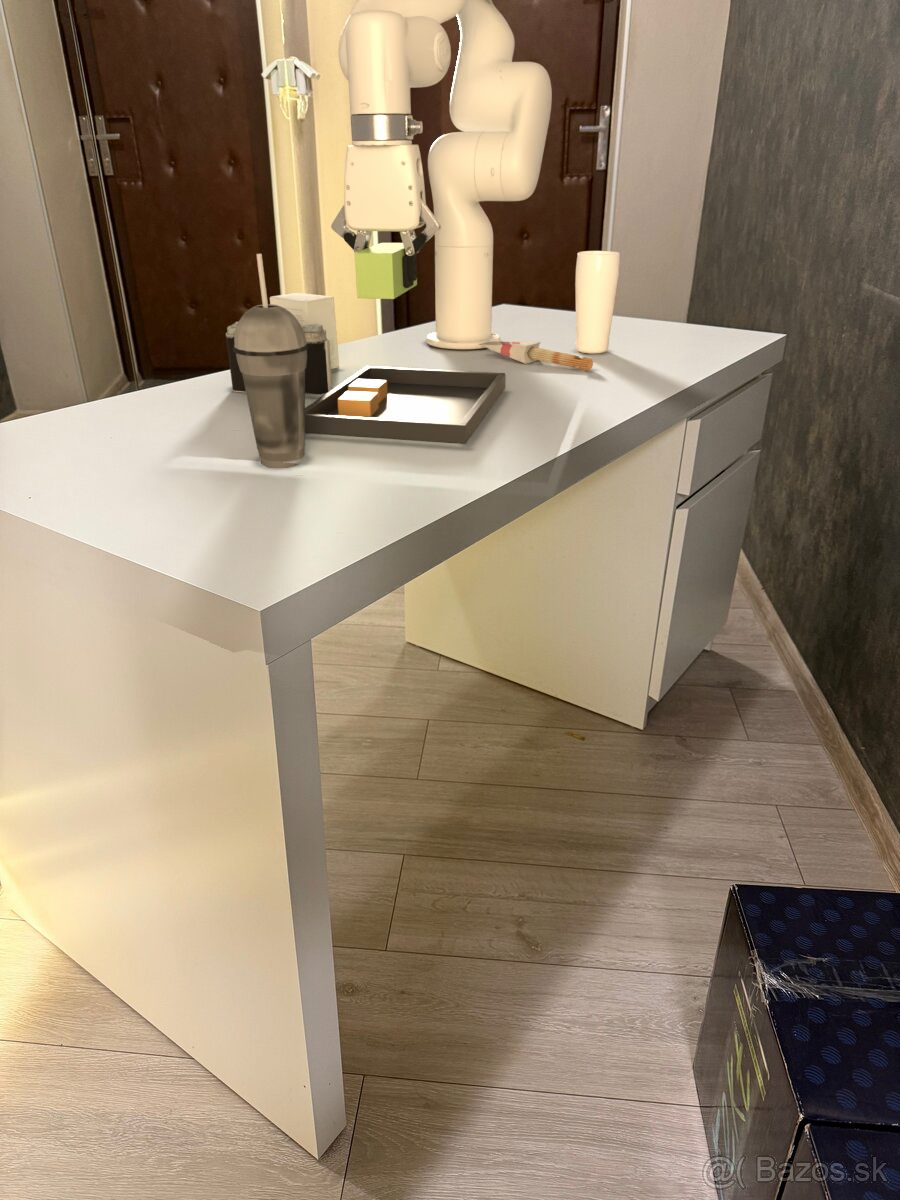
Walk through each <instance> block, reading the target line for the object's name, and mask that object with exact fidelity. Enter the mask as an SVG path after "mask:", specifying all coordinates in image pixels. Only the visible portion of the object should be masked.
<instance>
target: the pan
mask: <svg viewBox="0 0 900 1200" xmlns="http://www.w3.org/2000/svg"><path fill="white" fill-rule="evenodd" d="M506 375H507V374H506V373H505V372H490V371H472V370H471V371H469V370H451V369H450V370H449V369H429V368H413V367H412V368H411V367H409V368H408V367H392V366H369V365H366V366H365V367H363V368H362V369H360V370H359V371H357V372H355V373H354V374H353V375H351V376H350V377H348V378H347V379H345V380H344V381H342V382H341V383H339V384H338V385H337V386H335V387H334V388H332V390H331V391H329V392H327V393H324V394H322V396H321V397H319V398H317V399H316V400H314V401H313V402H311V403H310V404H308V405H307V406H305V434H309V435H310V434H311V435H324V436H325V435H326V436H327V435H328V436H339V437H340V436H342V437H354V438H355V437H357V438H369V439H384V440H399V441H400V440H401V441H411V442H412V441H414V442H427V443H443V444H455V445H456V444H457V445H466V444H467V443H468V441H469V440H470V438H471V437H472V436H473V434H474V433H475V431H476V430H477V429H478V427H479V425H480V424H481V423H482V422H483V420H484V419H485V417H486V416H487V415H488V413H489V412H490V410H491V409H492V407H494V405H495V404H496V402H497V401H498V399H499V398H500V397H501V395H502V394H503V393H504V391H505V389H506ZM357 379H368V380H387V396H386V397H385V398H384V399H383V400H382V401H381V402H380V403H378V404H379V408H378V410H377V411H376V412H375V413H374V414H373V415H372V416H371V417H361V416H339V414H338V398H339V397H341V396H342V395H343V394H344V393H345V392H346V391H348V386H349V385H350V384H352V383H353V382H354V381H356V380H357Z"/></svg>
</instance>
